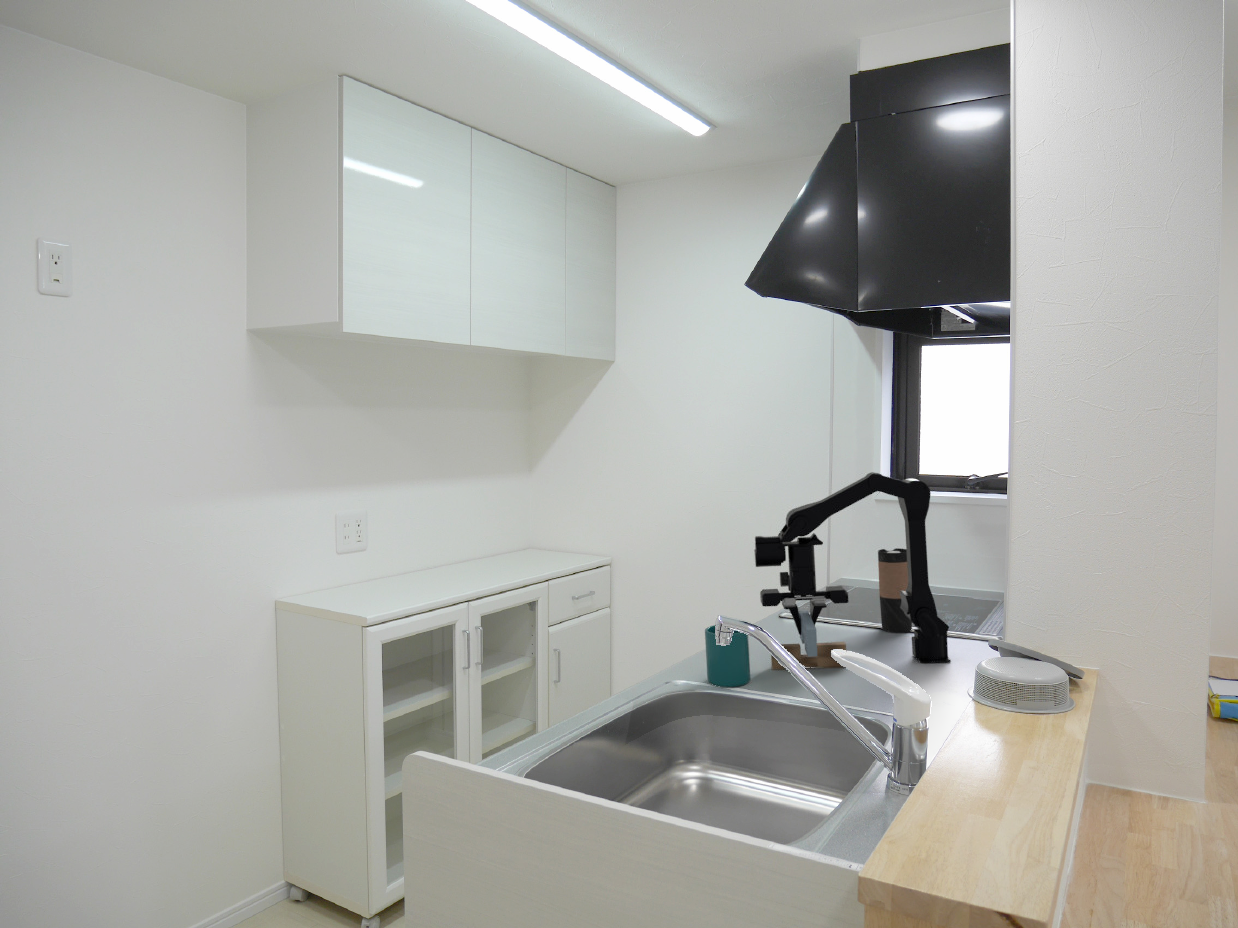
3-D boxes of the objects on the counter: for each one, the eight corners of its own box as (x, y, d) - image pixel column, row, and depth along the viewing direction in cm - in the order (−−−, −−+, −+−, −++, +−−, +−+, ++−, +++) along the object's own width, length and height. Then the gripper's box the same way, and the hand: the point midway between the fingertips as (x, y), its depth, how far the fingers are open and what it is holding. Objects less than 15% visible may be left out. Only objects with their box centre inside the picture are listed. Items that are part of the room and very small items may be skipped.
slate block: (817, 656, 174) (816, 629, 173) (807, 656, 174) (806, 629, 173) (808, 636, 186) (807, 611, 185) (799, 636, 186) (798, 611, 185)
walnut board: (845, 664, 180) (844, 641, 180) (847, 667, 178) (845, 644, 178) (771, 666, 182) (770, 644, 181) (772, 669, 180) (771, 646, 179)
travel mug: (902, 634, 201) (899, 553, 200) (875, 630, 207) (871, 551, 206) (918, 628, 206) (915, 549, 205) (891, 624, 212) (887, 547, 211)
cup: (765, 674, 176) (762, 623, 176) (736, 690, 167) (733, 636, 167) (729, 669, 182) (726, 619, 182) (699, 684, 173) (696, 631, 172)
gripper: (837, 557, 190) (841, 623, 191) (756, 560, 192) (760, 626, 192) (847, 565, 179) (850, 636, 180) (760, 569, 181) (764, 639, 181)
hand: (805, 634), depth 184 cm, fingers closed on slate block, 2 cm apart
